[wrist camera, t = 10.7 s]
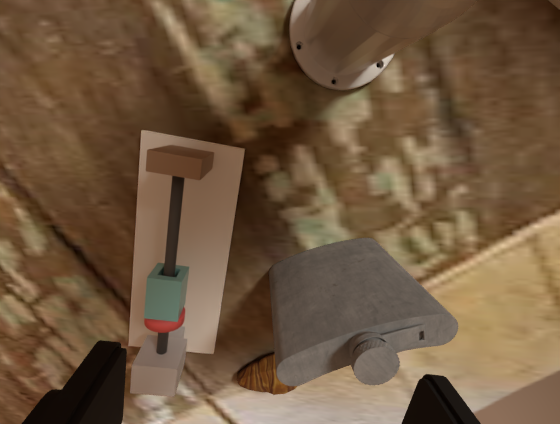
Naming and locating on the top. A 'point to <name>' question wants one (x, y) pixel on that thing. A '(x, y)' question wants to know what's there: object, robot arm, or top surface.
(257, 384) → the croissant
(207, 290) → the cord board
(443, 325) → the hip flask
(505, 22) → the top surface
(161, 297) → the sleeve
